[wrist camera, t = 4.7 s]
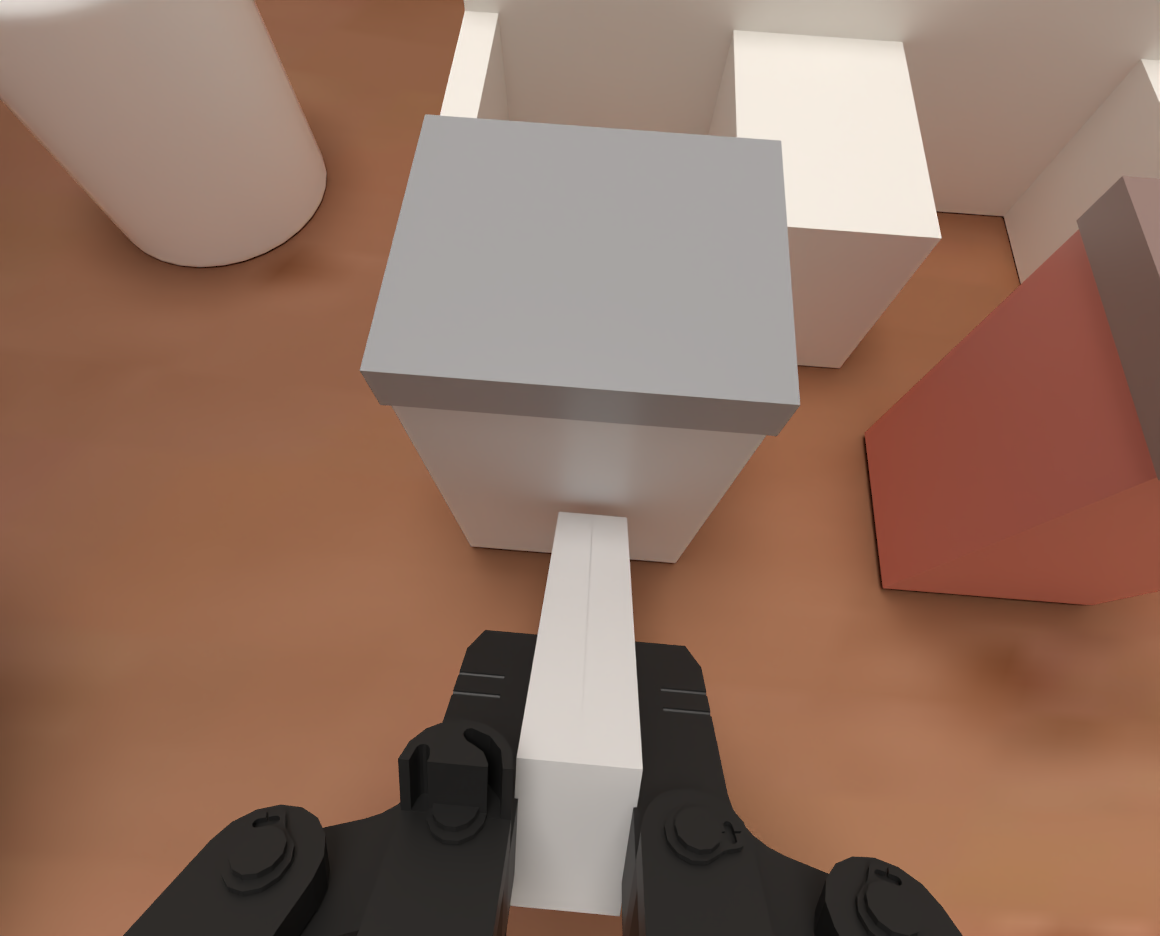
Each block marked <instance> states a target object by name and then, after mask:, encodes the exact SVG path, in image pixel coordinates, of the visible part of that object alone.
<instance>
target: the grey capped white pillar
mask: <svg viewBox="0 0 1160 936" xmlns="http://www.w3.org/2000/svg"><path fill="white" fill-rule="evenodd" d="M360 372H361V373H362V375H363V377H364V378H365V380H366V382H367V383H368V385H369V387H370V388H371V390H372V392H373V393H374V395H375V397H376V398H377V400H378V402H379V403H380V405H391V406H392V408H393V409H394V411H395V413H396V415H397V416H398V418H399V420H400V422H401V424H402V425H403V427H404V429H405V431H406V432H407V434H408V436H409V438H410V439H411V441H412V443H413V445H414V447H415V448H416V450H417V452H418V454H419V455H420V457H421V459H422V461H423V462H424V464H425V466H426V468H427V469H428V471H429V473H430V475H431V477H432V478H433V480H434V482H435V484H436V485H437V487H438V489H439V491H440V492H441V494H442V496H443V498H444V500H445V501H446V503H447V505H448V507H449V508H450V510H451V512H452V514H453V515H454V517H455V519H456V521H457V523H458V524H459V526H460V528H461V530H462V531H463V533H464V535H465V537H466V538H467V540H468V542H469V544H470V545H471V546H473V547H485V548H497V549H510V550H522V551H534V552H547V553H552V549H553V543H554V537H555V531H556V526H557V520H558V514H559V512H569V513H580V514H592V515H603V516H614V517H626V518H627V527H628V543H629V558H630V559H632V560H645V561H657V562H669V563H676V562H677V560H678V559H679V557H680V556H681V555H682V553H683V552H684V550H685V549H686V548H687V546H688V545H689V543H690V542H691V541H692V539H693V538H694V536H695V535H696V534H697V532H698V531H699V529H700V528H701V526H702V525H703V524H704V522H705V521H706V519H707V518H708V517H709V515H710V514H711V512H712V511H713V510H714V508H715V507H716V505H717V504H718V503H719V501H720V500H721V498H722V497H723V496H724V494H725V493H726V491H727V490H728V488H729V487H730V486H731V484H732V483H733V481H734V480H735V479H736V477H737V476H738V474H739V473H740V472H741V470H742V469H743V467H744V466H745V465H746V463H747V462H748V460H749V459H750V457H751V456H752V455H753V453H754V452H755V450H756V449H757V448H758V446H759V445H760V443H761V442H762V441H763V439H764V438H765V436H766V435H771V436H777V435H778V434H779V433H780V431H781V430H782V429H783V427H784V426H785V425H786V423H787V422H788V421H789V419H790V418H791V417H792V415H793V414H794V413H795V411H796V410H797V409H798V407H799V406H800V396H799V382H798V368H797V354H796V340H795V326H794V312H793V298H792V285H791V271H790V257H789V243H788V229H787V215H786V201H785V187H784V173H783V159H782V145H781V141H780V140H766V139H752V138H739V137H725V136H711V135H698V134H684V133H670V132H657V131H643V130H630V129H616V128H602V127H589V126H575V125H561V124H548V123H534V122H520V121H507V120H493V119H480V118H466V117H452V116H439V115H425V117H424V121H423V125H422V129H421V133H420V137H419V141H418V144H417V148H416V152H415V156H414V160H413V164H412V168H411V172H410V176H409V180H408V184H407V188H406V192H405V195H404V199H403V203H402V207H401V211H400V215H399V219H398V223H397V227H396V231H395V235H394V239H393V242H392V246H391V250H390V254H389V258H388V262H387V266H386V270H385V274H384V278H383V282H382V286H381V290H380V293H379V297H378V301H377V305H376V309H375V313H374V317H373V321H372V325H371V329H370V333H369V337H368V341H367V344H366V348H365V352H364V356H363V360H362V364H361V368H360Z"/></svg>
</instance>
